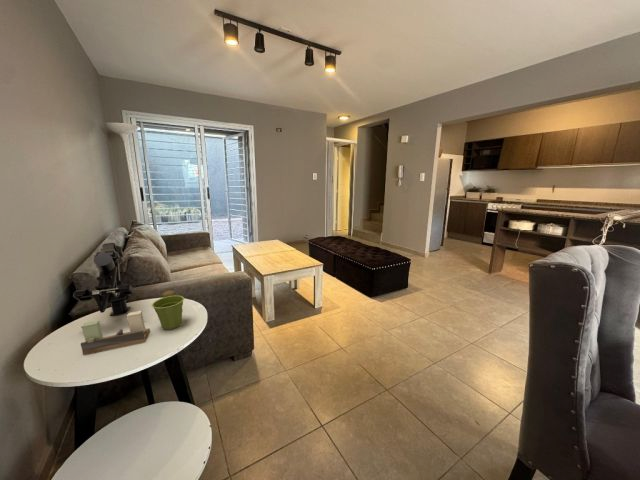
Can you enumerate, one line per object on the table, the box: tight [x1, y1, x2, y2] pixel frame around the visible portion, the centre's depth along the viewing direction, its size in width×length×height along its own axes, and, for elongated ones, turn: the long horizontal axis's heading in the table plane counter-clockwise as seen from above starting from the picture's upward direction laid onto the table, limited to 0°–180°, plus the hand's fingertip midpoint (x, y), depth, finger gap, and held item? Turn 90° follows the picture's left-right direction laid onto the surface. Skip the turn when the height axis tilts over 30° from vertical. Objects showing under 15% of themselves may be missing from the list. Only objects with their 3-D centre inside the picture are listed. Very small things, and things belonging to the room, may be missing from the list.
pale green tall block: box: [80, 320, 104, 342], centre depth 93 cm, size 3×4×9 cm, turn 111°
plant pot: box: [151, 295, 185, 330], centre depth 108 cm, size 12×12×11 cm
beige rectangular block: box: [126, 310, 146, 333], centre depth 100 cm, size 3×4×9 cm, turn 111°
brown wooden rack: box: [80, 327, 151, 356], centre depth 97 cm, size 8×19×6 cm, turn 111°
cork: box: [162, 289, 177, 298], centre depth 118 cm, size 6×6×11 cm
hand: (102, 312), depth 101 cm, fingers closed
